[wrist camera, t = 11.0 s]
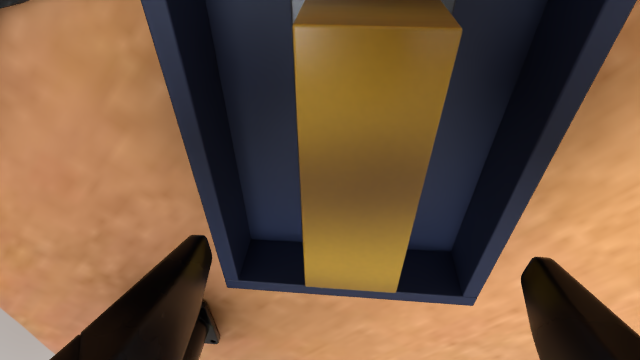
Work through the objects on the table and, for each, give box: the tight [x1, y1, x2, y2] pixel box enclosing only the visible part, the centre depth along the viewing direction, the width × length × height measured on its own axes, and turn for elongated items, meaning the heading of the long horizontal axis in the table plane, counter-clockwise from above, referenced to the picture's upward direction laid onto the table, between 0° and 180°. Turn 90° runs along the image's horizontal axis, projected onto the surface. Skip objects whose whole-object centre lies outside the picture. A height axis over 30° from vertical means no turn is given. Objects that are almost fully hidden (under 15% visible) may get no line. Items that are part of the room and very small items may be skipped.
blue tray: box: [141, 0, 637, 306], centre depth 14 cm, size 19×14×4 cm
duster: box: [290, 0, 462, 293], centre depth 14 cm, size 12×5×5 cm, turn 0°
